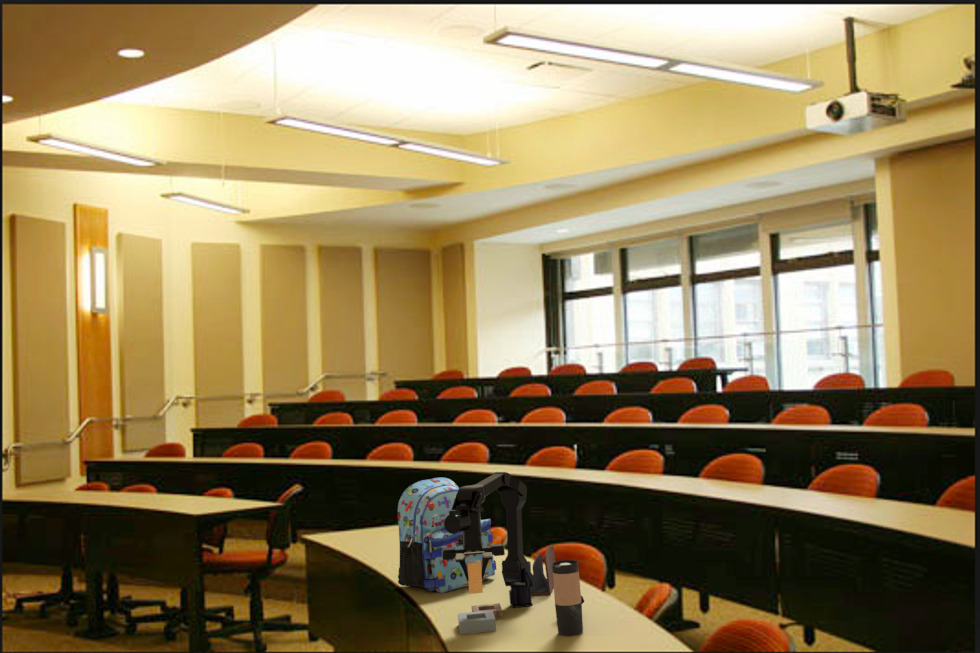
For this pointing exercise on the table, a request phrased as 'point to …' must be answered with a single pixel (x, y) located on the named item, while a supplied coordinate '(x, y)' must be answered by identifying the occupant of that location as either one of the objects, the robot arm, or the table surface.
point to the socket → (476, 622)
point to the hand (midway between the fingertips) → (475, 580)
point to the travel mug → (567, 597)
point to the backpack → (433, 538)
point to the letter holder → (541, 583)
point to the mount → (494, 607)
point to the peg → (474, 577)
